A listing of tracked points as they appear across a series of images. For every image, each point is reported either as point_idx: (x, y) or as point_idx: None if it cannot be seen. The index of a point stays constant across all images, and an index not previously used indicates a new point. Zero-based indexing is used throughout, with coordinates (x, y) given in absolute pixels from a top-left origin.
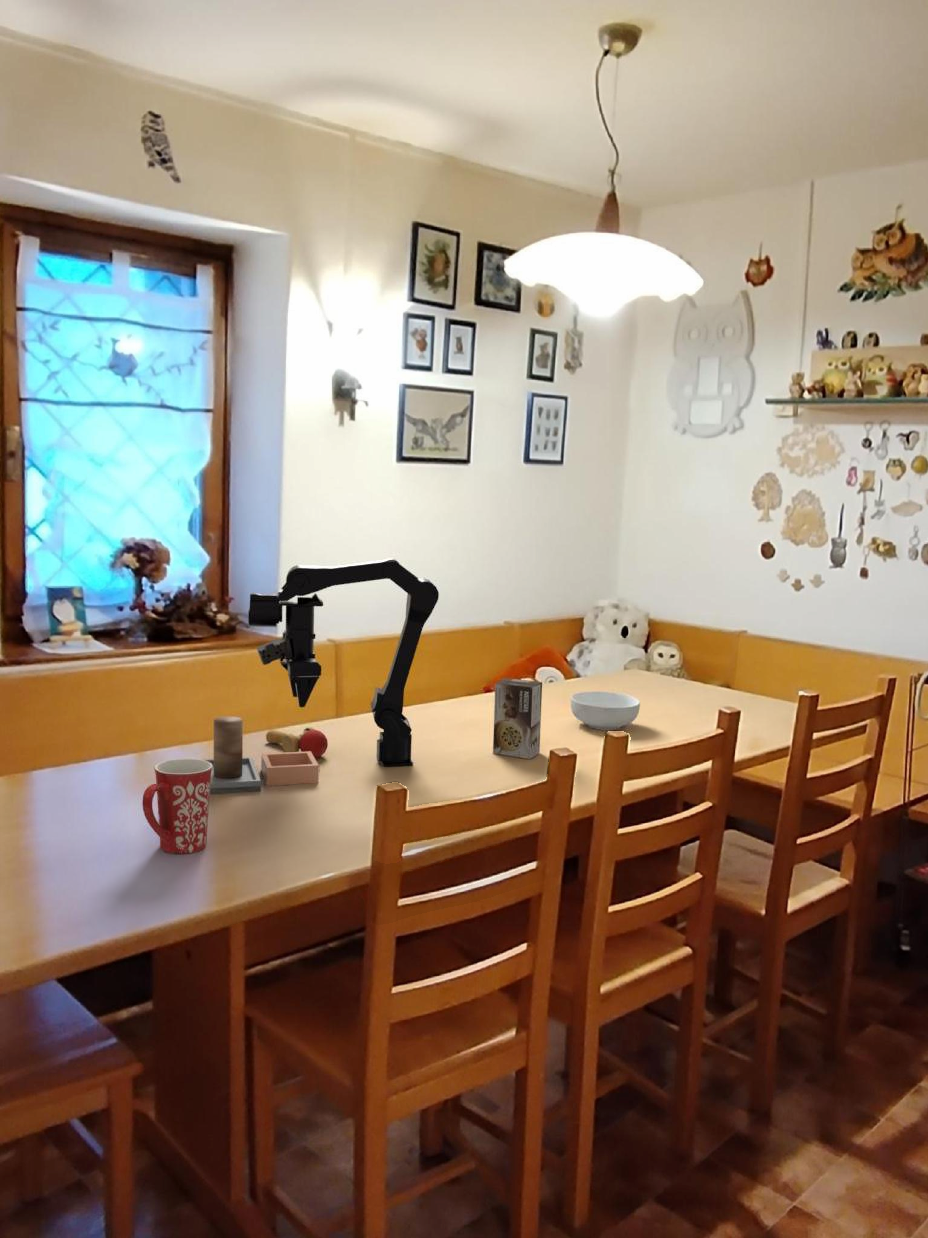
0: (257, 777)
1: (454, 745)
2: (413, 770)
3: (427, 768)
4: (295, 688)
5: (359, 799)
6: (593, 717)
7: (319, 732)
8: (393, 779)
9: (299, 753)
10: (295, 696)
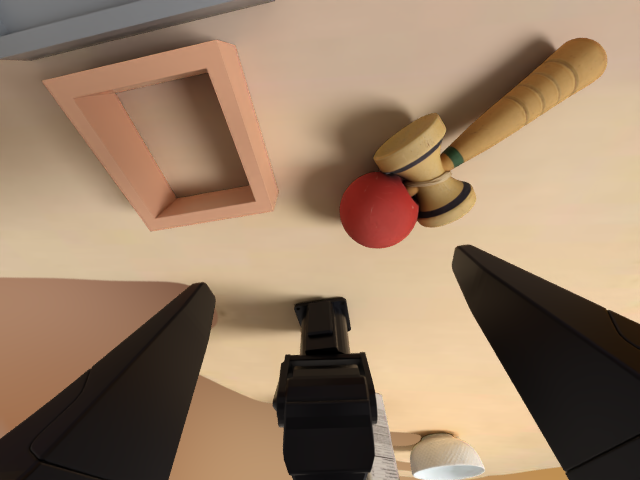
0: (22, 41)
1: (400, 366)
2: (281, 331)
3: (293, 343)
4: (487, 296)
5: (105, 272)
6: (421, 453)
7: (374, 243)
8: (231, 311)
9: (249, 182)
10: (455, 257)
